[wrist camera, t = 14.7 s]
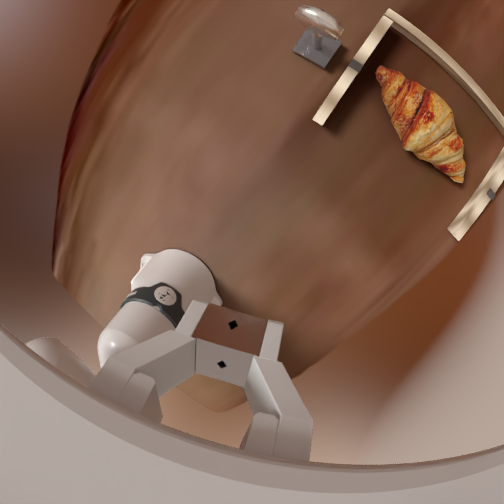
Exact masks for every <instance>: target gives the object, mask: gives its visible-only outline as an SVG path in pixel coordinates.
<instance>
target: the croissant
mask: <svg viewBox="0 0 504 504" xmlns="http://www.w3.org/2000/svg"><path fill="white" fill-rule="evenodd" d="M376 78H377V81H378V82H379V83H380V86H381V87H382V91H381V94H382V99H383V102H384V104H385V106H386V108H387V110H388V114H389V115H390V117H391V122H392V124H393V126H394V128H395V129H396V132H397V133H398V135H399V138H400V140H401V142H402V147H403V148H404V149H405V150H407V151H412V152H413V153H414V154H415V155H416V156H417V157H418V158H419V159H420V160H425V161H428V162H430V163H432V164H433V165H434V166H435V168H437V169H438V170H439V171H441V172H443V173H445V174H447V175H448V176H449V177H450V178H451V179H452V180H453V181H455V182H458V183H463V180H464V172H465V165H466V163H465V162H464V160H463V152H464V151H463V147H464V145H463V143H462V142H463V140H462V138H460V136H459V135H458V134H457V131H456V126H455V122H454V116H453V113H452V110H451V109H450V108H449V106H448V105H447V104H446V103H445V101H444V100H443V99H442V98H441V97H439V96H438V95H437V94H436V93H435V92H433V91H431V90H428V89H426V88H424V87H423V86H421V85H420V84H419V83H417V82H415V81H411V80H408V79H406V78H405V77H404V76H403V74H402V73H400V72H399V71H395V70H391V69H389V68H386V67H384V66H379V67H378V68H377V71H376Z"/></svg>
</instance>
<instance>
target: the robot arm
mask: <svg viewBox="0 0 504 504" xmlns="http://www.w3.org/2000/svg"><path fill="white" fill-rule="evenodd" d="M131 284H132V286H131V291H132V292H131V293H130V294H129V295H128V296H127V297H126V298H125V300H124V302H123V303H122V305H121V308H120V311H119V312H118V313H117V314H116V316H115V317H114V318H113V319H112V320H111V322H110V323H109V324H108V325H107V327H106V328H105V329H104V330H103V332H102V333H101V335H100V338H99V341H98V355H99V360H100V364H101V370H100V371H99V372H98V374H97V375H95V374H94V372H93V371H92V370H91V369H90V367H89V366H88V365H87V364H86V363H85V362H84V361H83V360H82V359H81V358H79V357H78V356H77V355H76V354H75V353H74V352H72V351H71V350H70V349H69V348H68V347H67V346H66V345H64V344H63V343H62V342H61V341H60V340H58V339H56V338H38V339H35V340H32V341H30V342H28V343H26V344H24V343H22V342H21V341H20V340H19V339H18V338H17V337H15V336H14V335H13V334H12V333H11V332H10V331H8V330H7V329H6V328H5V327H4V326H3V325H2V324H0V504H504V445H501V446H497V447H494V448H491V449H487V450H483V451H480V452H475V453H471V454H467V455H462V456H457V457H452V458H446V459H440V460H433V461H426V462H417V463H404V464H386V465H351V464H331V463H319V462H310V461H309V458H310V451H311V442H312V434H313V424H314V421H313V419H312V418H311V416H310V414H309V412H308V410H307V408H306V406H305V405H304V403H303V401H302V399H301V397H300V396H299V394H298V392H297V390H296V388H295V386H294V384H293V382H292V381H291V379H290V377H289V375H288V373H287V371H286V369H285V367H284V366H283V364H282V362H278V361H277V360H278V355H279V349H280V344H281V338H282V333H283V327H284V324H283V322H279V321H275V320H270V319H266V318H262V317H258V316H254V315H250V314H246V313H243V312H238V311H235V310H232V309H229V308H225V307H222V306H221V305H222V300H221V298H220V296H219V295H218V293H217V292H216V288H215V283H214V279H213V277H212V275H211V273H210V271H209V270H208V268H207V267H206V266H205V265H204V264H203V263H202V262H201V261H200V260H199V259H198V258H196V257H195V256H193V255H191V254H189V253H187V252H185V251H181V250H176V249H169V250H164V251H162V252H159V253H157V254H144V255H143V257H142V258H141V268H140V271H139V272H138V273H137V274H136V276H135V277H134V278H133V279H132V281H131ZM195 373H198V374H202V375H205V376H208V377H212V378H215V379H219V380H222V381H225V382H228V383H232V384H235V385H238V386H241V387H244V390H245V393H246V396H247V399H248V402H249V405H250V408H251V411H252V414H253V419H252V421H251V423H250V425H249V427H248V429H247V431H246V433H245V435H244V437H243V439H242V441H241V444H240V448H239V449H238V448H234V447H230V446H226V445H222V444H219V443H216V442H212V441H209V440H206V439H203V438H200V437H196V436H193V435H190V434H188V433H184V432H182V431H179V430H177V429H174V428H171V427H169V426H166V425H163V424H161V421H162V418H163V415H162V410H161V407H160V402H159V397H161V396H162V395H164V394H165V393H167V392H168V391H170V390H172V389H173V388H174V387H176V386H178V385H179V384H181V383H182V382H183V381H185V380H186V379H188V378H189V377H191V376H192V375H194V374H195Z"/></svg>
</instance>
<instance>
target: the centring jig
mask: <svg viewBox="0 0 504 504" xmlns="http://www.w3.org/2000/svg"><path fill="white" fill-rule="evenodd" d="M390 26H392V27H393V28H395V29H396V30H397V31H399V32H400V33H401V34H403V35H404V36H406V37H407V38H408V39H410V40H411V41H412V42H413V43H415V44H416V45H417V46H418V47H420V48H421V49H422V50H423V51H424V52H426V53H427V54H428V55H429V56H430V57H432V58H433V59H434V60H435V61H436V62H437V63H438V64H439V65H440V66H442V67H443V68H444V69H445V70H446V71H447V72H448V73H449V74H450V75H451V76H452V77H453V78H454V79H455V80H456V81H457V82H458V83H459V84H460V85H461V86H462V87H463V88H464V89H465V90H466V91H467V93H468V94H469V95H470V96H471V97H472V98H473V99H474V100H475V102H476V103H477V104H478V105H479V106H480V107H481V109H482V110H483V111H484V112H485V113H486V115H487V116H488V117H489V118H490V120H491V121H492V122H493V124H494V125H495V126H496V128H497V129H498V130H499V132H500V133H501V134H502V136H503V137H504V117H503V116H502V114H501V113H500V112H499V110H498V109H497V108H496V106H495V105H494V104H493V103H492V101H491V100H490V99H489V98H488V96H487V95H486V94H485V93H484V92H483V91H482V89H481V88H480V87H479V86H478V85H477V84H476V83H475V81H474V80H473V79H472V78H471V77H470V76H469V75H468V74H467V73H466V72H465V71H464V70H463V69H462V68H461V67H460V66H459V65H458V64H457V63H456V62H455V61H454V60H453V59H452V58H451V57H450V56H449V55H448V54H447V53H446V52H445V51H444V50H442V49H441V48H440V47H439V46H438V45H437V44H436V43H435V42H433V41H432V40H431V39H430V38H429V37H427V36H426V35H425V34H424V33H422V32H421V31H420V30H419V29H417V28H416V27H415V26H413V25H412V24H411V23H409V22H408V21H407V20H405V19H404V18H402V17H401V16H400V15H398V14H397V13H395V12H394V11H392V10H391V9H388V10H387V11H386V13H385V14H384V15H383V17H382V18H381V20H380V21H379V23H378V24H377V25H376V27H375V28H374V30H373V31H372V32H371V34H370V35H369V37H368V38H367V40H366V41H365V42H364V44H363V45H362V47H361V48H360V50H359V51H358V52H357V54H356V55H355V57H354V58H353V59H352V61H351V62H350V64H349V65H348V67H347V68H346V70H345V71H344V73H343V74H342V76H341V77H340V79H339V80H338V82H337V83H336V85H335V86H334V88H333V89H332V91H331V92H330V94H329V95H328V97H327V98H326V100H325V101H324V103H323V104H322V106H321V107H320V109H319V110H318V112H317V113H316V115H315V116H314V118H313V119H312V120H314V121H315V122H317V123H319V124H320V125H323V124H324V122H325V121H326V119H327V118H328V116H329V115H330V113H331V112H332V110H333V109H334V107H335V106H336V104H337V103H338V101H339V100H340V99H341V97H342V96H343V94H344V93H345V91H346V90H347V88H348V87H349V85H350V84H351V82H352V81H353V79H354V78H355V76H356V75H357V73H358V72H360V70H361V69H362V67H363V66H364V63H365V62H366V60H367V59H368V57H369V56H370V54H371V53H372V52H373V50H374V49H375V47H376V46H377V44H378V43H379V41H380V40H381V39H382V37H383V36H384V34H385V33H386V31H387V30H388V28H389V27H390ZM503 180H504V147H503V149H502V151H501V152H500V154H499V156H498V157H497V159H496V161H495V162H494V164H493V166H492V167H491V169H490V170H489V172H488V173H487V175H486V176H485V178H484V179H483V181H482V182H481V184H480V185H479V187H478V188H477V190H476V191H475V192H474V194H473V195H472V197H471V198H470V199H469V201H468V202H467V204H466V205H465V206H464V208H463V209H462V210H461V212H460V213H459V214H458V215H457V217H456V218H455V219H454V221H453V222H452V223H451V224H450V226H449V227H448V228H447V229H448V230H449V231H450V232H451V233H452V235H453V236H454V237H455V238H456V239H457V240H458V241H459V240H460V239H461V238H462V237H463V236H464V234H465V233H466V232H467V231H468V229H469V228H470V227H471V225H472V224H473V223H474V222H475V220H476V219H477V218H478V216H479V215H480V214H481V212H482V211H483V209H484V208H485V207H486V205H487V204H488V202H489V201H490V200H493V199H494V197H495V196H496V194H495V192H496V191H497V189H498V188H499V186H500V185H501V183H502V182H503Z"/></svg>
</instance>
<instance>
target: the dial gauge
mask: <svg viewBox="0 0 504 504" xmlns="http://www.w3.org/2000/svg"><path fill="white" fill-rule="evenodd" d="M294 17H295V19H296V20H297V21H298V22H300V23H301V24H302V25H303V26H305V27H306V28H307V30H306V31H305V32H304V34H303V35H302V37H301V38H300V40H299V41H298V42H297V44H296V45H295V47H294V48H293V50H292V51H293V52H294V53H295V54H297V55H299V56H301V57H303V58H305V59H307V60H309V61H310V62H312V63H314V64H316V65H317V66H319V67H321V68H323V69H325V67H326V66H327V64H328V63H329V61H330V60H331V59H332V57H333V56H334V54H335V53H336V51H337V50H338V48H339V47H340V46H341V44H342V42H341V41H339V40H338V38H339V36H340V35H341V34H342V32H343V31H344V29H343V27H342V25H341V24H340V23H339V22H338V21H337V20H336V19H335V18H333V17H332V16H330V15H329V14H327V13H326V12H324V10H322V9H321V10H320V9H317V8H315V7H312V6H308V5H301V6H300V7H299V8H298V10H297V11H296V12H295V14H294Z"/></svg>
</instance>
